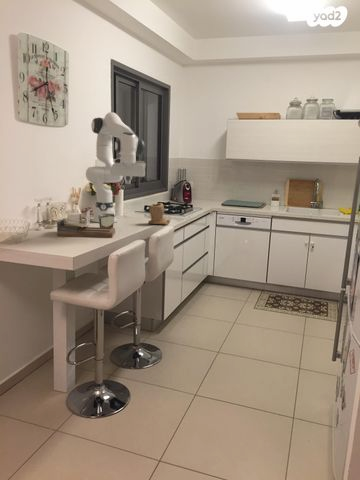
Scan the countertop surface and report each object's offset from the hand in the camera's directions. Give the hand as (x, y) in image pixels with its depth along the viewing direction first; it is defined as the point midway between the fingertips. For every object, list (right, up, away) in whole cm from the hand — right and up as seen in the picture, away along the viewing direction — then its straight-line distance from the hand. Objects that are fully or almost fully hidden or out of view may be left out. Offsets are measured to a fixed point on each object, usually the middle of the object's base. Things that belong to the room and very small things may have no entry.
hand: (127, 183), depth 246 cm
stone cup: (+16, -23, +47) cm, 54 cm away
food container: (-18, -27, +20) cm, 38 cm away
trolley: (-31, -27, +1) cm, 40 cm away
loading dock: (-25, -30, +2) cm, 39 cm away
